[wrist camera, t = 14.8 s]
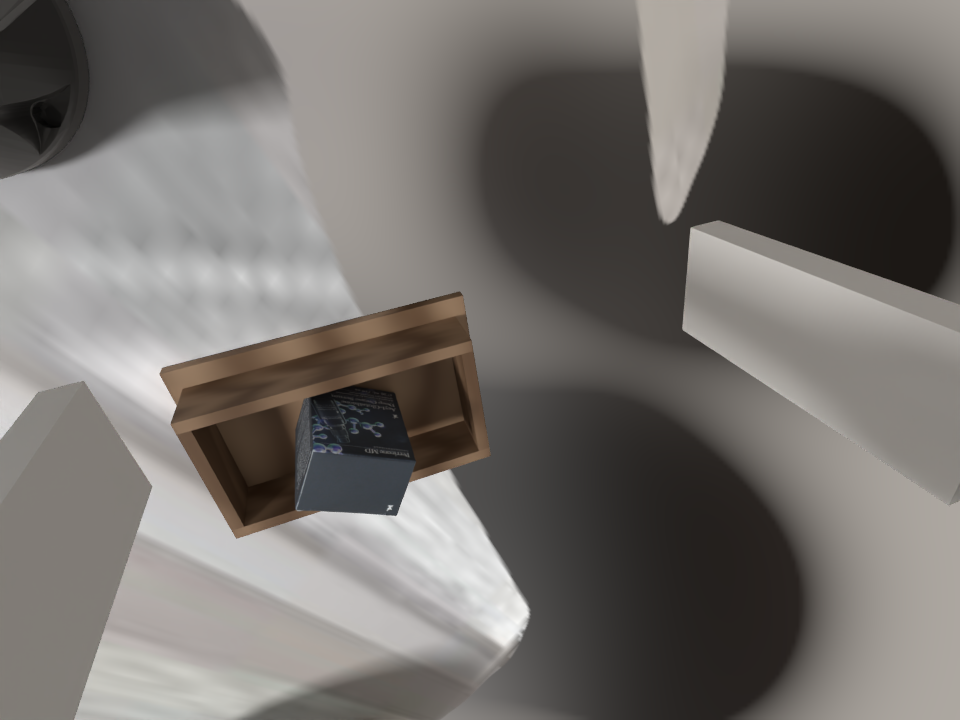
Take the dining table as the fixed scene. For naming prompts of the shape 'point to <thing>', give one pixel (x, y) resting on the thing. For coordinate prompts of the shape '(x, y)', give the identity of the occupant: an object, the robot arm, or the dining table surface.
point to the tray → (316, 370)
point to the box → (352, 453)
